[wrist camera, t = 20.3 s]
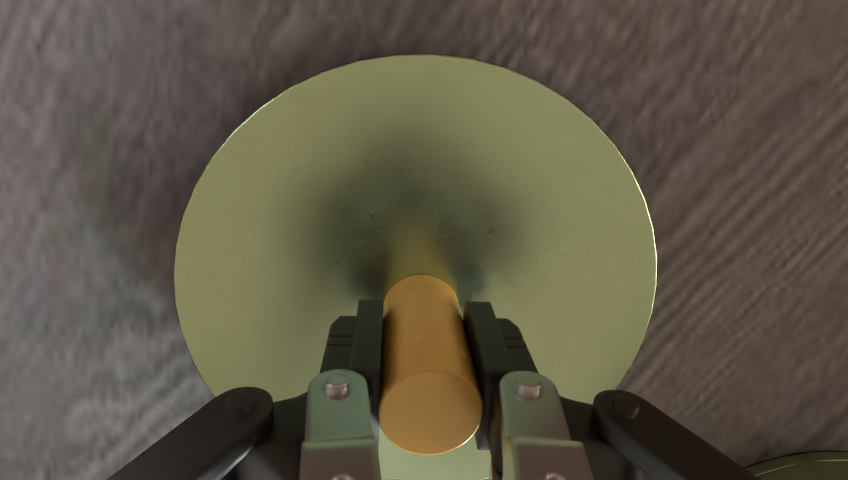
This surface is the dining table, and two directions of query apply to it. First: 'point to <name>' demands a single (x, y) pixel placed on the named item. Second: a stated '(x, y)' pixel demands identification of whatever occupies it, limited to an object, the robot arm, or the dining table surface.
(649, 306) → the lid
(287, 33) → the dining table surface
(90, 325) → the dining table surface
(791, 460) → the tin
